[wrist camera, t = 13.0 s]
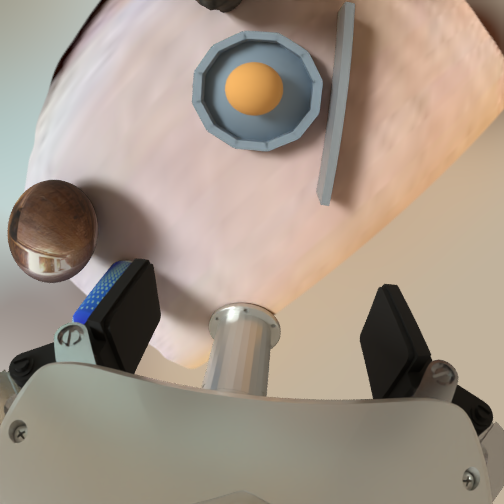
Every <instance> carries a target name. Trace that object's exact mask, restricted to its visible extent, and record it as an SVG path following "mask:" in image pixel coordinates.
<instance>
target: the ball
mask: <svg viewBox="0 0 504 504" xmlns="http://www.w3.org/2000/svg"><path fill="white" fill-rule="evenodd" d="M225 94H226V97H227V100H228V101H229V103H230V104H231V106H232V107H233V108H234V109H236V110H237V111H239V112H241V113H243V114H246V115H252V116H256V115H263V114H266V113H268V112H270V111H271V110H273V109H274V108H275V107H276V106H277V105H278V104H279V102H280V100H281V98H282V95H283V83H282V80H281V77H280V76H279V74H278V73H277V72H276V71H275V70H274V69H273V68H272V67H270V66H268V65H266V64H263V63H259V62H249V63H245V64H242V65H240V66H238V67H237V68H235V69H234V70H233V71H232V72H231V73H230V75H229V76H228V78H227V80H226V84H225Z"/></svg>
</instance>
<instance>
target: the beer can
mask: <svg viewBox="0 0 504 504" xmlns="http://www.w3.org/2000/svg"><path fill="white" fill-rule="evenodd" d="M132 262H133V261H129V260H126V261H118V262H115V263H114V264H113V265H112V266H111V267H110V268H109V269H108V271H107V272H106V273H105V274H104V276H103V277H102V278H101V279H100V281H99V282H98V283H97V284H96V286H95V287H94V288H93V290H92V291H91V292H90V293H89V295H88V296H87V297H86V299H85V300H84V302H83V303H82V304H81V305H80V307H79V308H78V309H77V311H76V312H75V314H74V315H73V320H72V322H79V323H81V324H83V325H84V324H85V323H86V321H87V319H88V317H89V316H90V315H91V313H92V312H93V311H94V309H95V308H96V307H97V305H98V304H99V303H100V301H101V300H102V299H103V297H104V296H105V295H106V294H107V292H108V291H109V290H110V289H111V287H112V286H113V285H114V284H115V282H116V281H117V280H118V279H119V277H120V276H121V275H122V274H123V272H124V271H125V270H126V269H127V268H128V266H129V265H130V264H131V263H132Z"/></svg>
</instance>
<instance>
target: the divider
mask: <svg viewBox="0 0 504 504" xmlns="http://www.w3.org/2000/svg"><path fill="white" fill-rule="evenodd" d="M354 12H355V4H354V3H350V2H345V3H344V4H343V6H342V7H341V9H340V10H339V12H338V21H337V34H336V47H335V58H334V68H333V78H332V87H331V95H330V104H329V112H328V119H327V127H326V134H325V141H324V148H323V154H322V161H321V167H320V173H319V180H318V186H317V191H316V192H317V195H318V198H319V201H320V204H321V205H326V206H329V204H330V199H331V194H332V189H333V183H334V178H335V172H336V167H337V161H338V155H339V149H340V143H341V136H342V130H343V123H344V116H345V108H346V101H347V93H348V84H349V75H350V66H351V55H352V43H353V29H354Z"/></svg>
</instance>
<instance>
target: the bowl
mask: <svg viewBox="0 0 504 504" xmlns="http://www.w3.org/2000/svg"><path fill="white" fill-rule="evenodd" d="M213 46H214V47H213ZM213 46H212V47H211V48H210V50H209V51H208V52H207V54H206V55H205V57H204V58H203V59H202V61H201V62H200V64H199V65H198V67H197V68H196V70H195V71H194V72H195V73H194V78H193V95H192V103H193V106H194V108H195V110H196V111H197V113H198V115H199V117H200V119H201V121H202V123H203V125H204V126H205V128H206V130H208V132H209V133H211V134H213V135H214V136H216V137H217V138H219V139H220V140H222V141H224V142H225V143H227V144H228V145H230V146H231V147H233V148H235V149H247V150H258V151H270V150H273V149H275V148H278V147H280V146H282V145H285V144H287V143H290V142H292V141H295V140H298V138H300V137H301V136H302V134H303V133H304V132H305V131H306V129H307V128H308V127H309V126H310V124H311V123H312V122H313V121H314V119H315V118H316V117H317V116H318V114H319V112H320V104H321V95H322V86H323V82H322V81H323V80H322V78H321V76H320V74H319V72H318V70H317V68H316V66H315V64H314V62H313V60H312V58H311V56H310V54H309V52H308V51H307V50H305V49H304V48H302V47H301V46H299V45H297V44H296V43H294V42H293V41H291V40H290V39H288V38H286V37H285V36H283V35H281V34H280V33H279V34H278V33H273V32H259V31H244V32H243V31H242V32H240V33H238V34H235V35H233V36H231V37H229V38H227V39H225V40H223V41H220V42H218V43H216V44H214V45H213ZM249 62H259V63H263V64H266V65H268V66H270V67H272V68H273V69H274V70H275V71H276V72H277V73H278V74H279V76H280V77H281V80H282V83H283V95H282V98H281V100H280V102H279V104H278V105H277V106H276V107H275V108H274V109H273V110H271V111H270V112H268V113H266V114H263V115H256V116H252V115H246V114H243V113H241V112H239V111H237V110H236V109H234V108H233V107H232V106H231V104H230V103H229V101H228V100H227V97H226V94H225V84H226V80H227V78H228V76H229V75H230V73H231V72H232V71H233V70H234V69H235V68H237V67H238V66H240V65H242V64H245V63H249Z"/></svg>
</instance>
